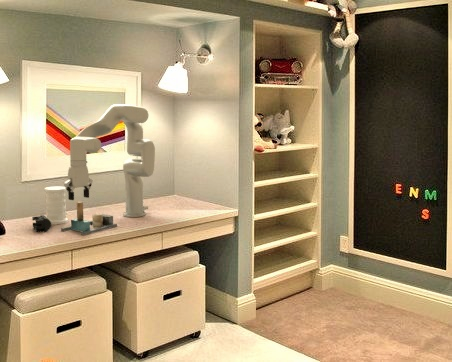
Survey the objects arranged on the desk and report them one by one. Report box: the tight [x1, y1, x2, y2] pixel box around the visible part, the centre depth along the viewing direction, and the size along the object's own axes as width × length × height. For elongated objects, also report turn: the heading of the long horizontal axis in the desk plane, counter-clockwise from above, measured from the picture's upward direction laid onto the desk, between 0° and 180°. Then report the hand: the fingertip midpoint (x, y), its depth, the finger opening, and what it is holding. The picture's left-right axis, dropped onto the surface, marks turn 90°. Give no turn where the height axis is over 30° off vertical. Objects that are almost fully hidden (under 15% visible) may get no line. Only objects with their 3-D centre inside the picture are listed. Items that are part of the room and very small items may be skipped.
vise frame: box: [60, 213, 118, 236], centre depth 282 cm, size 23×16×5 cm
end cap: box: [31, 214, 52, 233], centre depth 278 cm, size 10×7×7 cm
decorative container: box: [44, 186, 69, 225], centre depth 295 cm, size 12×12×18 cm
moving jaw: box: [70, 201, 91, 233], centre depth 276 cm, size 3×10×14 cm, turn 57°
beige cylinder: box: [92, 213, 104, 229], centre depth 286 cm, size 5×5×6 cm
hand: (78, 198), depth 274 cm, fingers open, 9 cm apart
